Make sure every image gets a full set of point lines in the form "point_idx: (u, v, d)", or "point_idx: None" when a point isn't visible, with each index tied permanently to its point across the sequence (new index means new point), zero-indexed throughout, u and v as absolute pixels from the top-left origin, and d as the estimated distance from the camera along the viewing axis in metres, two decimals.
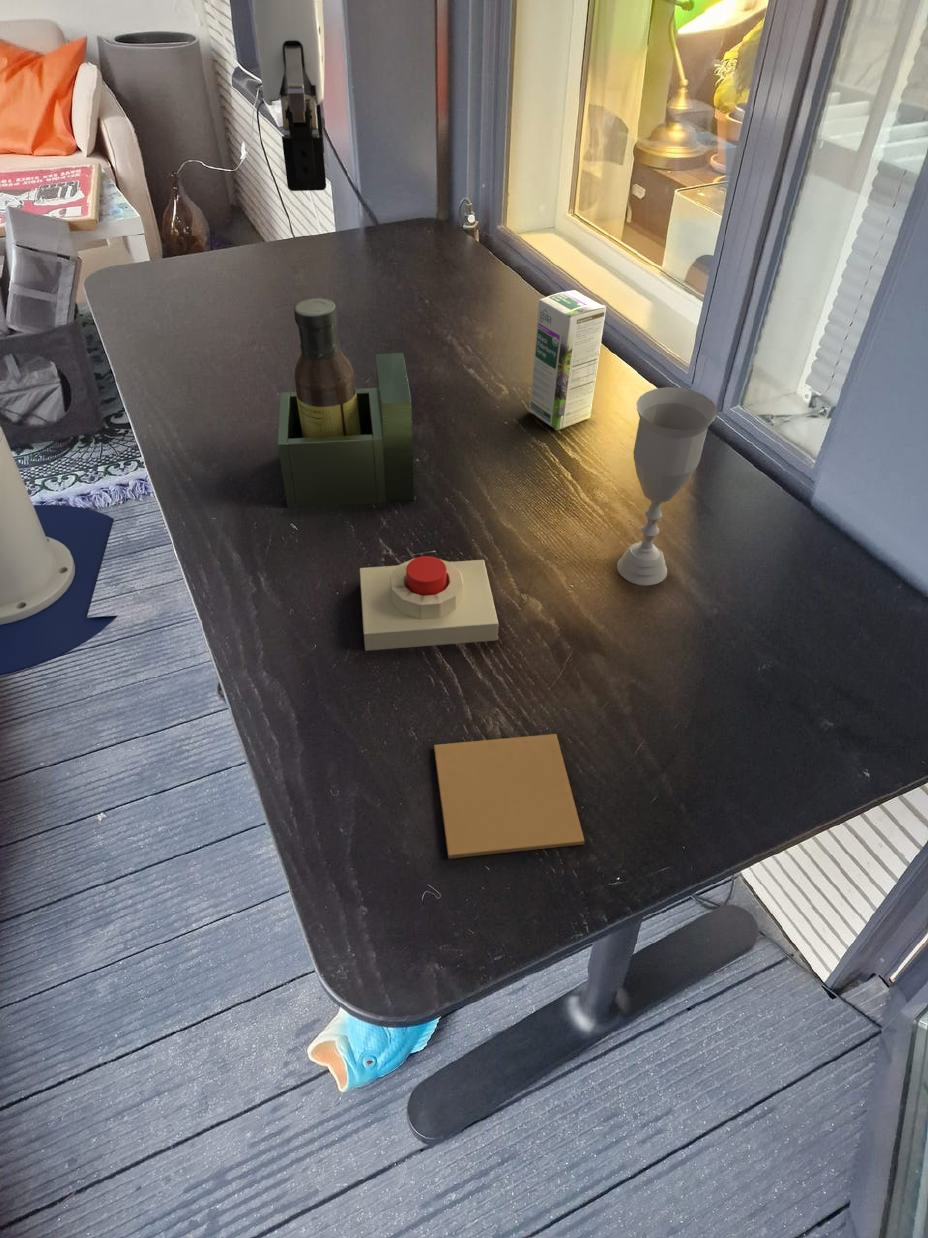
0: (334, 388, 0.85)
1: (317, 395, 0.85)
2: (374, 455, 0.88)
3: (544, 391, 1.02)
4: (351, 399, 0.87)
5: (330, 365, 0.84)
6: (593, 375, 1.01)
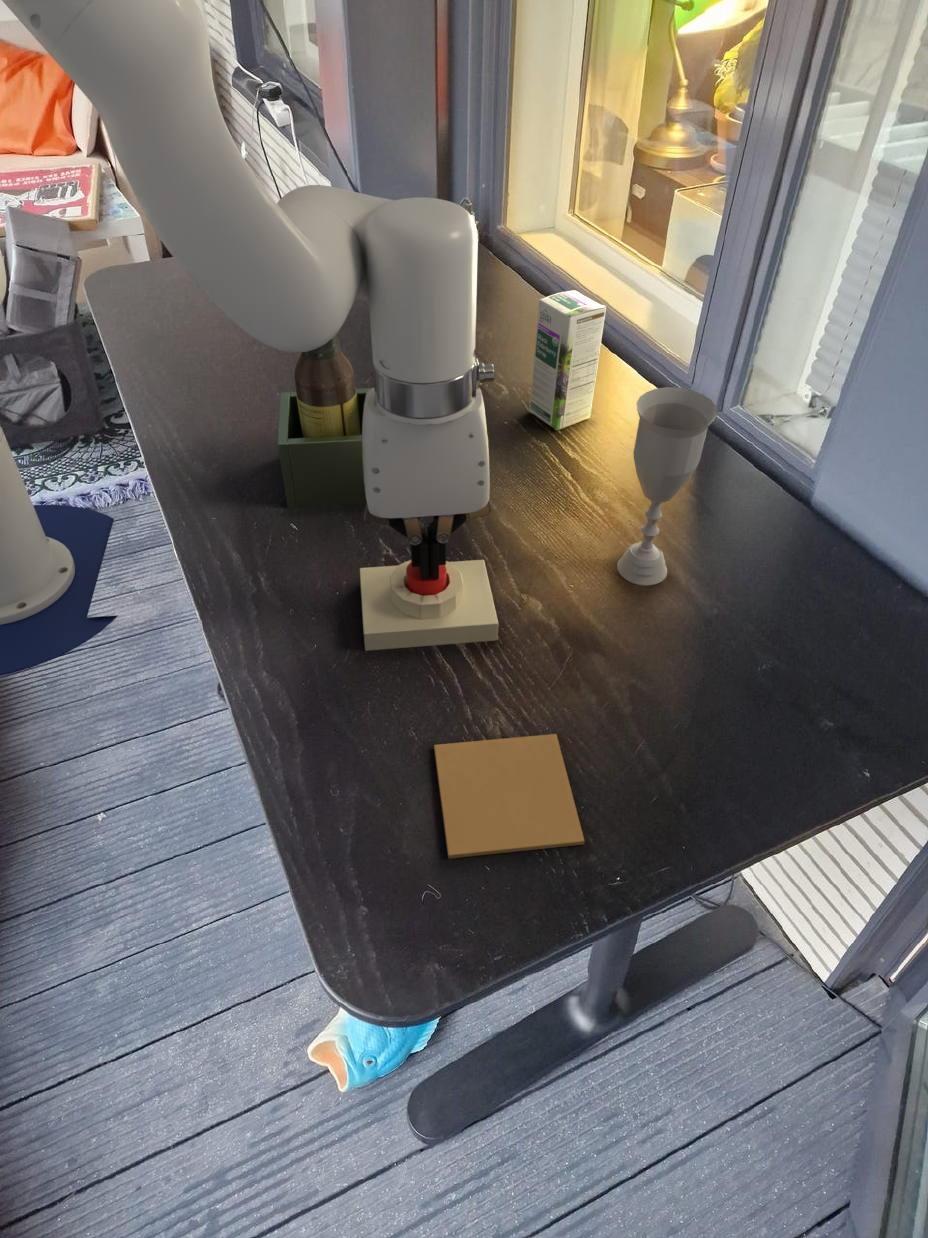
0: (334, 388, 0.85)
1: (317, 395, 0.85)
2: None
3: (544, 391, 1.02)
4: (351, 399, 0.87)
5: (330, 365, 0.84)
6: (593, 375, 1.01)
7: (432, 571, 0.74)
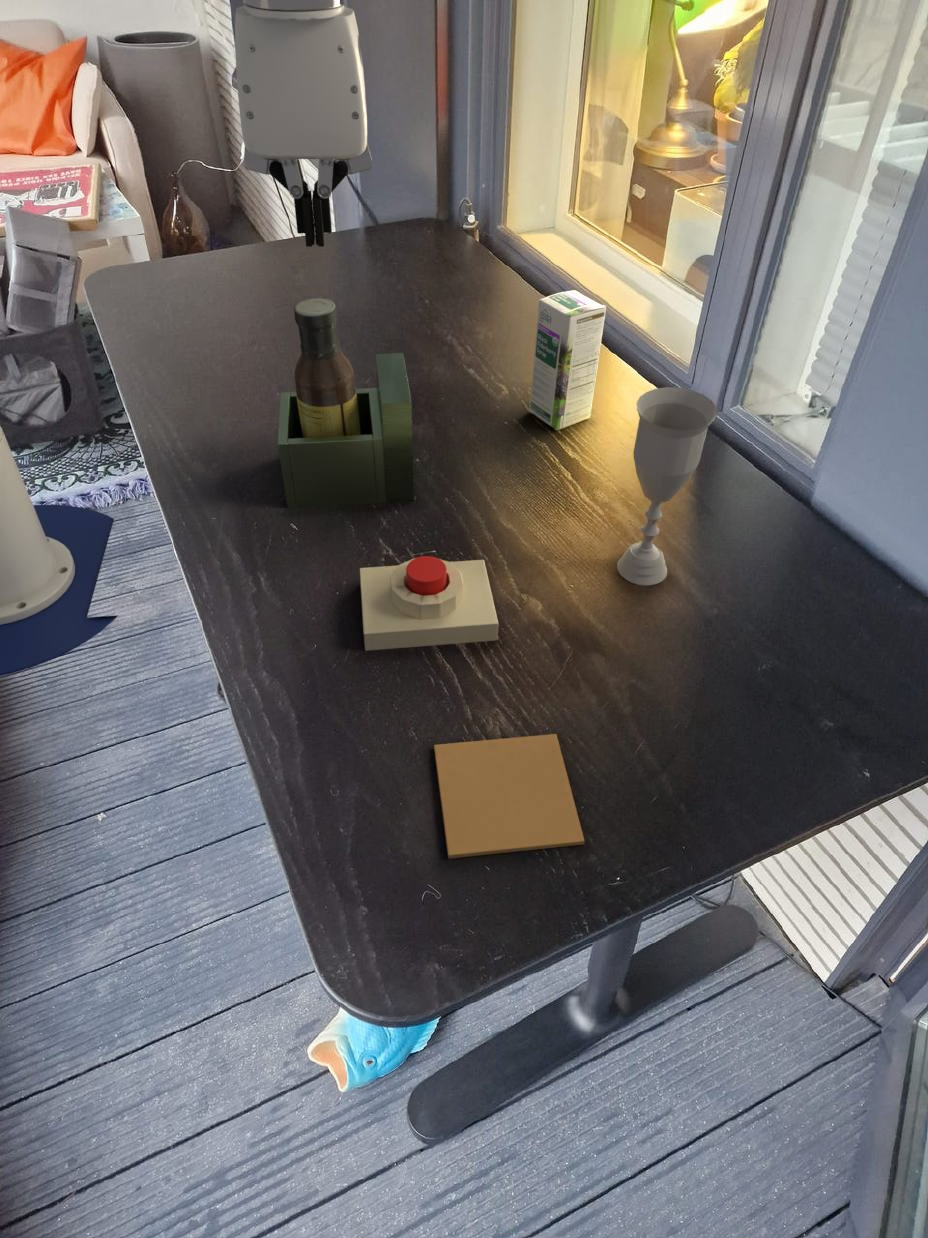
0: (334, 388, 0.85)
1: (317, 395, 0.85)
2: (374, 455, 0.88)
3: (544, 391, 1.02)
4: (351, 399, 0.87)
5: (330, 365, 0.84)
6: (593, 375, 1.01)
7: (316, 235, 0.74)
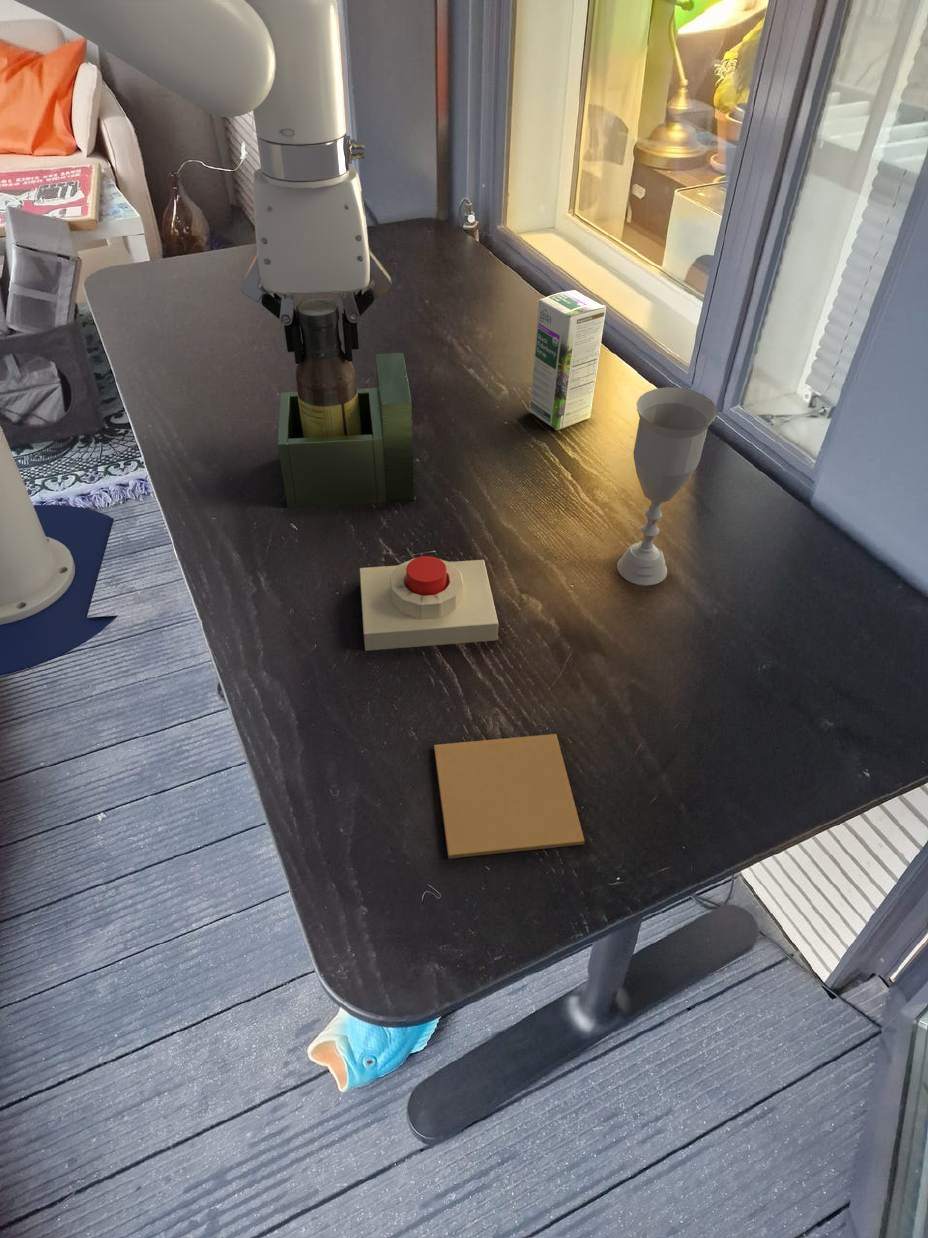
0: (335, 388, 0.85)
1: (319, 395, 0.85)
2: (374, 455, 0.88)
3: (544, 391, 1.02)
4: (352, 399, 0.87)
5: (332, 364, 0.84)
6: (593, 375, 1.01)
7: (346, 352, 0.84)
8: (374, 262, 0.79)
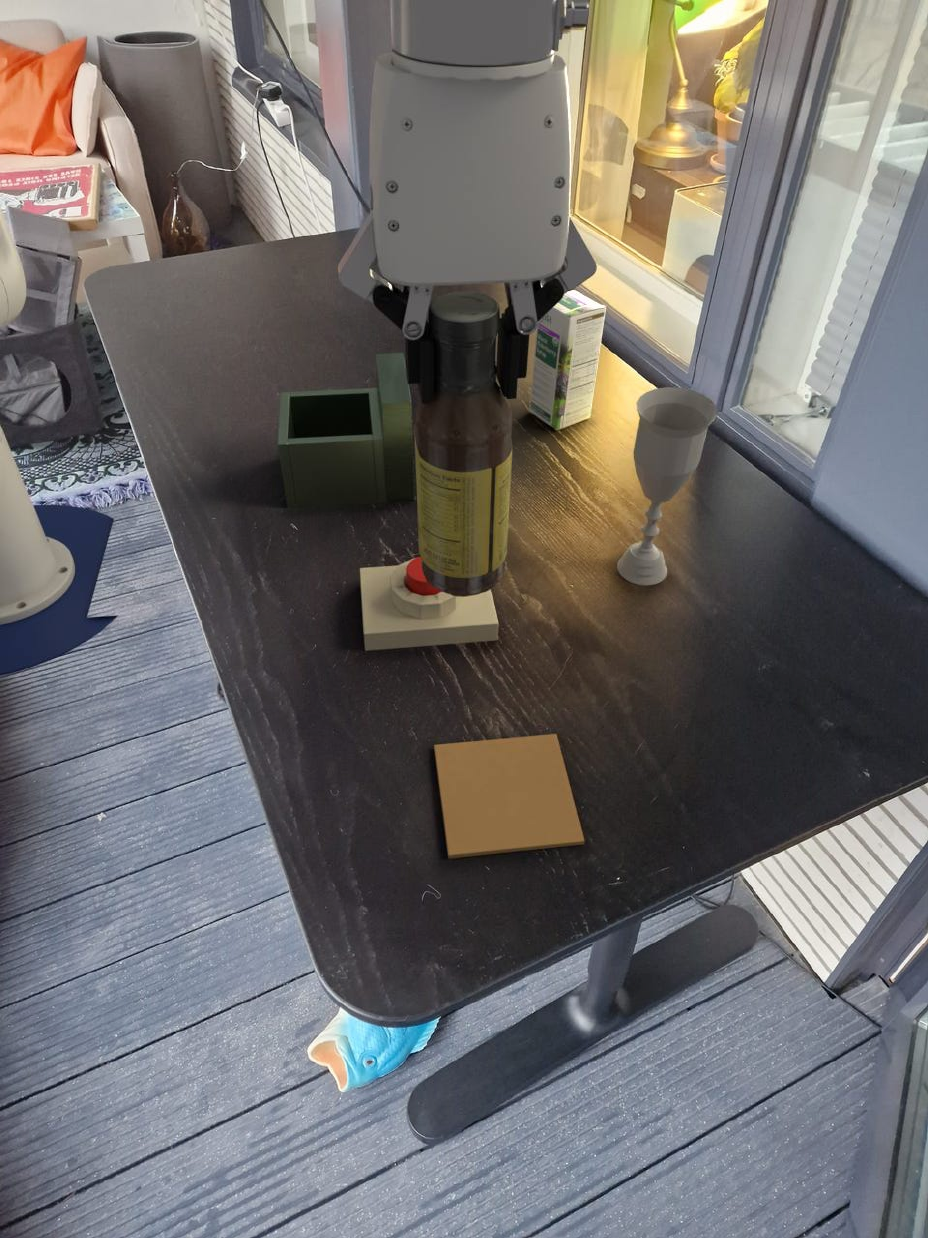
0: (486, 442, 0.51)
1: (458, 454, 0.51)
2: (374, 455, 0.88)
3: (544, 391, 1.02)
4: (507, 458, 0.53)
5: (483, 404, 0.50)
6: (593, 375, 1.01)
7: (507, 384, 0.50)
8: (573, 229, 0.45)
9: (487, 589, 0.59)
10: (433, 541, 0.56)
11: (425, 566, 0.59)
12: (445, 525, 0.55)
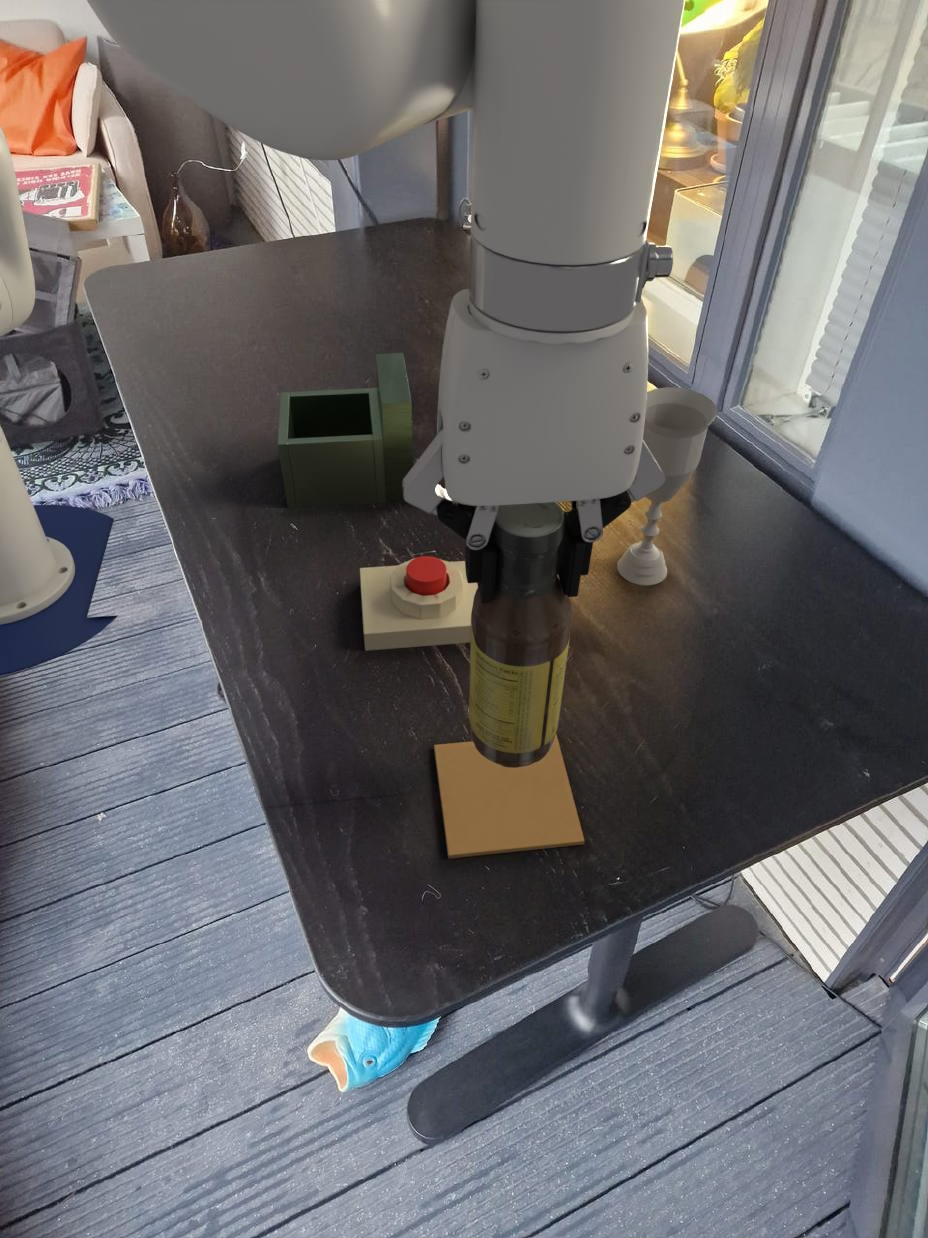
0: (546, 640, 0.50)
1: (517, 651, 0.50)
2: (374, 455, 0.88)
3: None
4: (565, 648, 0.52)
5: (544, 605, 0.49)
6: None
7: (569, 585, 0.49)
8: (644, 448, 0.44)
9: (538, 760, 0.58)
10: (486, 720, 0.56)
11: (475, 736, 0.58)
12: (500, 709, 0.54)
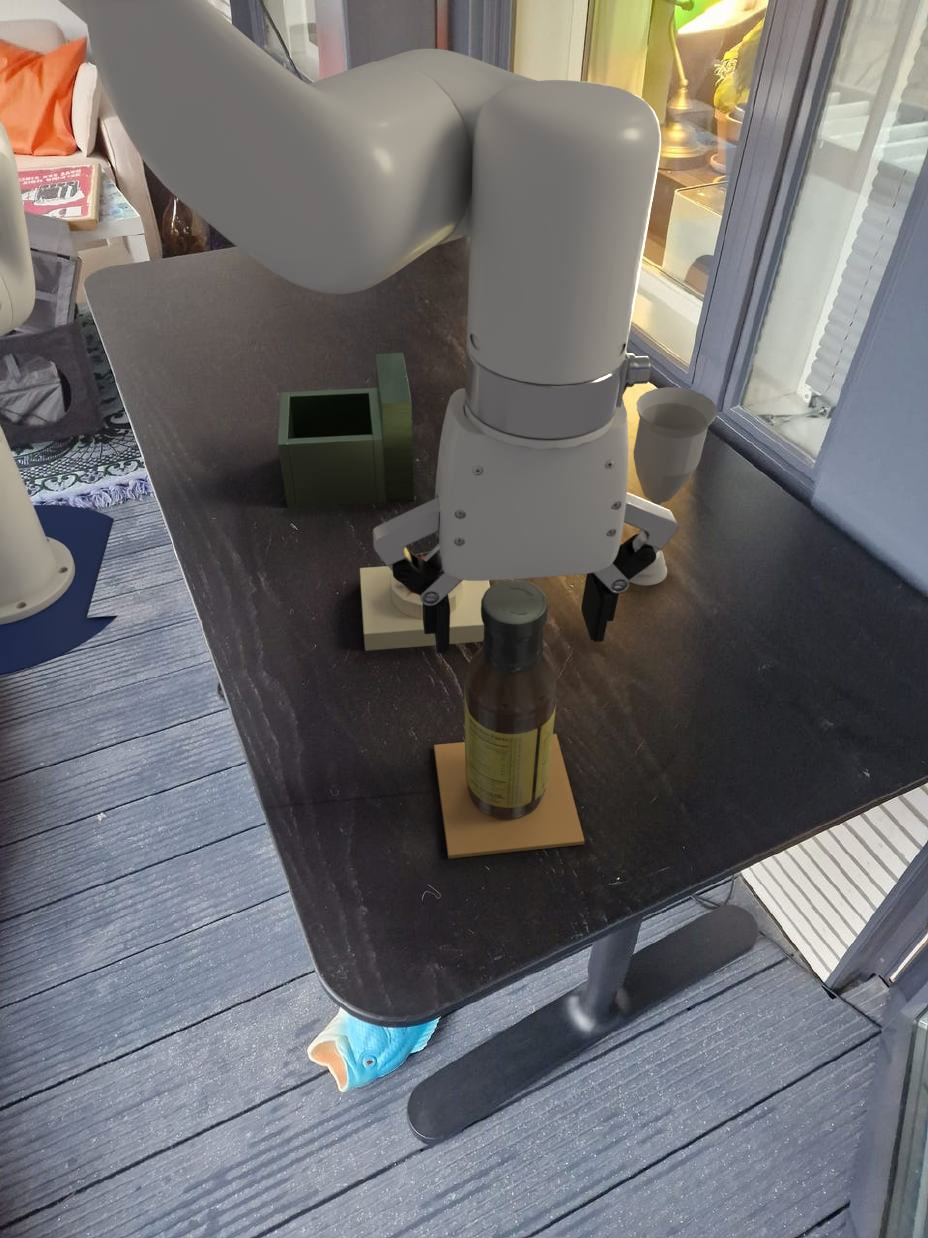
0: (533, 711, 0.54)
1: (507, 721, 0.55)
2: (374, 455, 0.88)
3: None
4: (552, 715, 0.57)
5: (530, 680, 0.53)
6: None
7: (595, 631, 0.52)
8: (641, 511, 0.47)
9: (530, 812, 0.63)
10: (480, 778, 0.60)
11: (471, 791, 0.63)
12: (492, 770, 0.58)
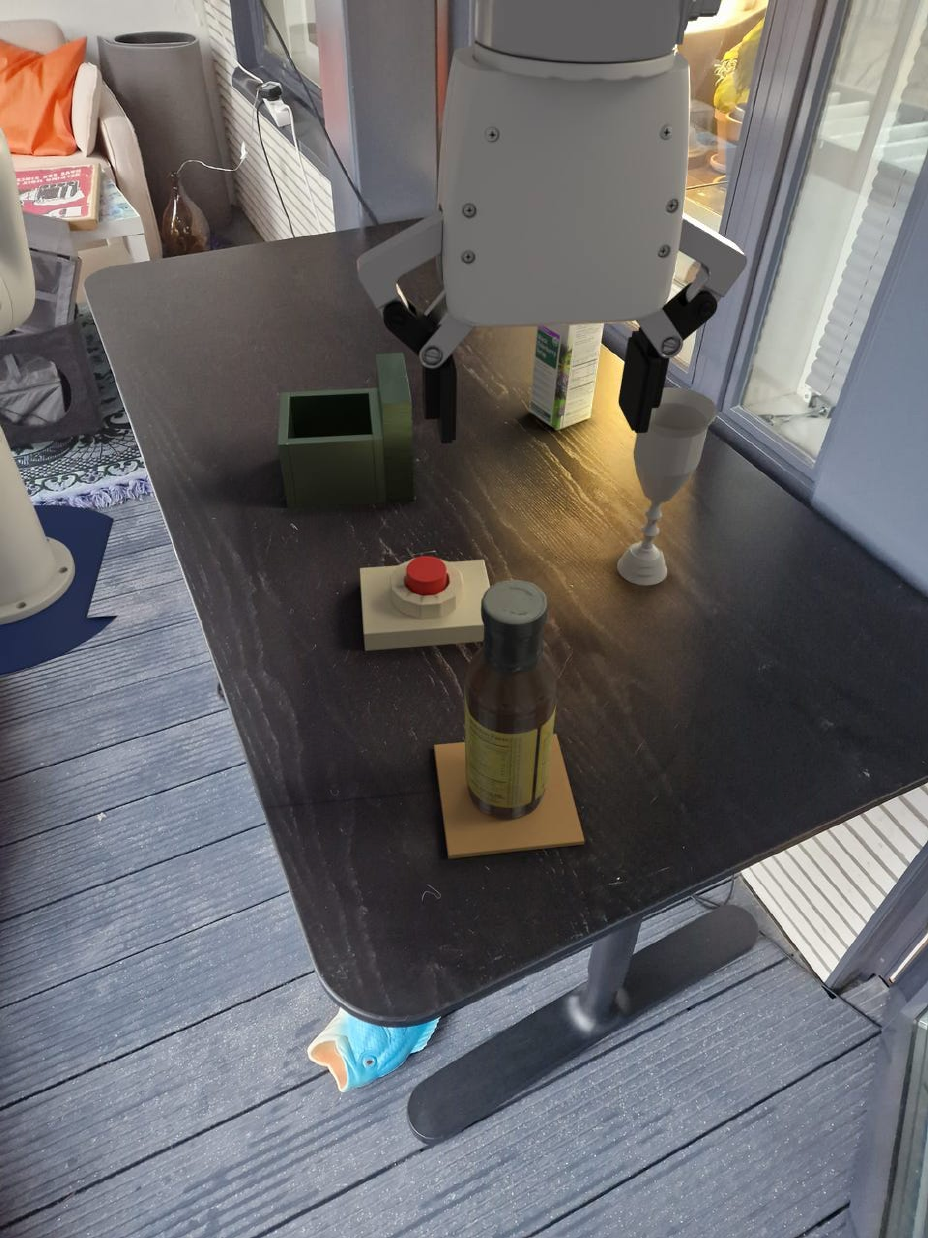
0: (533, 711, 0.54)
1: (507, 721, 0.55)
2: (374, 455, 0.88)
3: (544, 391, 1.02)
4: (552, 715, 0.57)
5: (530, 680, 0.53)
6: (593, 375, 1.01)
7: (639, 416, 0.42)
8: (701, 232, 0.37)
9: (530, 812, 0.63)
10: (480, 778, 0.60)
11: (471, 791, 0.63)
12: (492, 770, 0.58)
